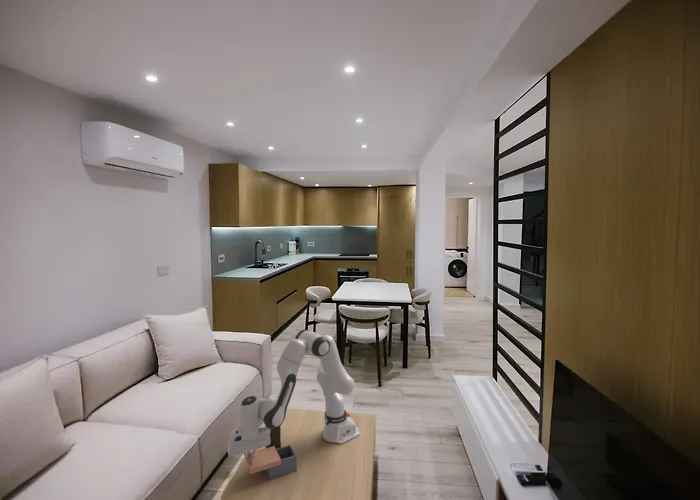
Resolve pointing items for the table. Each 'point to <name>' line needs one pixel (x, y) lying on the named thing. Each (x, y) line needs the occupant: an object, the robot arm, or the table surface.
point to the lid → (263, 459)
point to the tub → (284, 462)
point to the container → (275, 438)
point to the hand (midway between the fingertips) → (249, 457)
